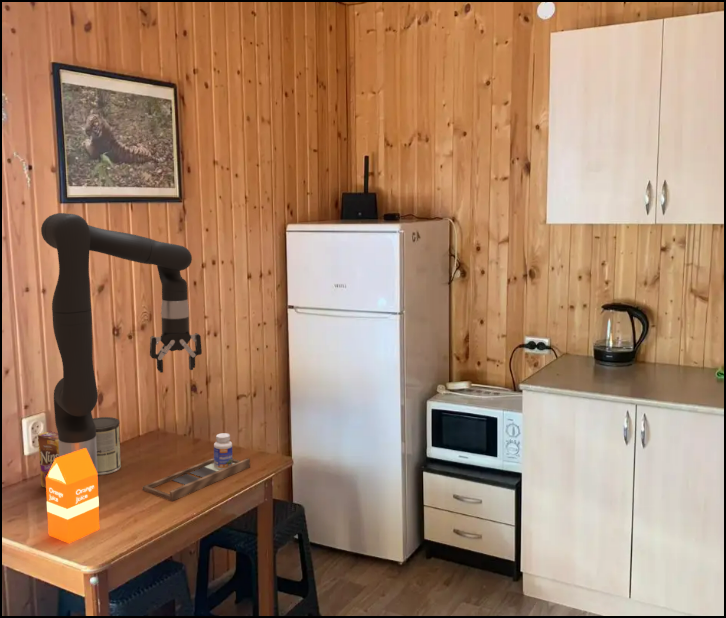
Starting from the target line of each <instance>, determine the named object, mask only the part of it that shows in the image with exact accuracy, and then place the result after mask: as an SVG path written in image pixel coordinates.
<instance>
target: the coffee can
mask: <svg viewBox="0 0 726 618" xmlns="http://www.w3.org/2000/svg"><path fill="white" fill-rule="evenodd" d="M92 418H93V417H92ZM93 421H94V424H95V426H96V444H97V469H98V476H99V475H102V476H103V475H109V474H112V473H115V472H117V471H119V470H120V469H121V467H122V465H121V464H122V463H121V448H120V447H121V445H120V444H121V443H120V442H121V441H120V439H121V438H120V419H118V418H116V417H109V416H102V417H94V418H93Z"/></svg>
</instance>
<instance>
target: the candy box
mask: <svg viewBox="0 0 726 618" xmlns="http://www.w3.org/2000/svg"><path fill="white" fill-rule="evenodd" d="M37 442H38V456H39V469H40V485H41V487H42V488H45V489H46V477H47V475H48V472H49V470H50V468H51V466H52V464H53V462H54V460H55V458H58V457H59V440H58V432H55V431H51V430H47V431H44V432H42V433H39V434H38V435H37Z"/></svg>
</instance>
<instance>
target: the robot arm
mask: <svg viewBox="0 0 726 618" xmlns="http://www.w3.org/2000/svg"><path fill="white" fill-rule="evenodd" d="M40 232H41V233H40V234H41V236H42V239H43V240H44V242H46V244H48V246H50V247H52V248H53V249H56V252H57V259H58V277H57V281H56V285H55V288H54V293H53V296H52V301H51V302H52V303H51V313H52V314H51V315H52V327H53V332H54V333H53V334H54V338H55V341H56V344H57V349H58V351H59V355H60V358H61V363H62V364H61V365H62V371H63V373H62V375H63V377H62V378H61V379H59V381H57V383H56V385H55V387H54V390H53V409H54V411H53V412H54V421H55V427H56V428H55V429H56V431H57V433H58V440H59V457H60V456H63V455H66V454H69V453H72V452H75V451H78V450H81V449H84V448H86V449H87V451H88V454H89V456H90V458H91V460H92V462H93V465H94V467H95V469H96V471H97V473H98V469H97V444H96V426H95V424H94V421H93V414H92V411H93V410H94V409H95V407H96V406H97V403H98V397H99V395H98V394H99V393H98V387H97V382H96V376H95V371H94V370H95V368H94V362H93V361H94V360H93V319H92V316H93V315H92V302H91V287H90V285H91V284H90V271H89V270H90V251H92V252H96V253H101V254H104V255H108V256H111V257H115V258H120V259H123V260H126V261H130V262H135V263H140V264H145V265H153V266H156V267H157V271H158V276H159V280H160V284H161V305H160V306H161V307H160V308H161V309H160V314H161V315H160V316H161V335H160V336H154V335H151V336H150V338H149V339H150V340H149V356H150V358H151V359H155V360H156V369H157V371H158V372H159V373H161V374H162V373H164V361H163V358H164V357H165V356H166V354H167V353H168V352H169V351H170V352H174V351H179V352H180V351H183V350H185V351H186V352H187V354H188V355H189V356H188V368H189V370H190V371H194V368H196V357H197V356H200V355H202V354H203V353H202V352H203V350H202V349H203V348H202V337H201V335H200V334H199V333H198V332H197V333H196V332H195V333H194V334H193V333H192V334H190V309H189V301H188V299H189V298H188V283H187V281H186V279H184V278H183V277H182V275H181V271H185V270H186V269H188V268H189V267H190V265H191V264H192V261H193V256H192V253H191V251H190V250H189V249H188V248H187V247H185V246H183V245H179V244H174V243H169V242H163V241H158V240H155V239H152V238H149V237H147V236H146V237H145V236H141V235H137V234H133V233H129V232H128V233H127V232H121V231H115V230H109V229H104V228H101V227H96V226H93V225H90V224H88V223H87V221H86V219H84V218H83V217H82V216H80V215H78V214H75V213H67V212H66V213H65V212H58V213H54V214H53V213H52V215H49V216H48V217H46V218H45V219H44V220H43V222H42V224H41V228H40ZM191 340H192V341H193V342H194V345H195V346H194V347H195V350H192V349H191V347H190V346H189V345H188V344H189V342H190V341H191ZM160 342H161V343H162V344H163V345H162V346H161V348H160V350H159V351H158V353H156V352H157V345H159V343H160ZM97 477H99V475H98V474H97ZM98 492H99V489H98Z"/></svg>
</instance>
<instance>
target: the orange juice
mask: <svg viewBox="0 0 726 618" xmlns="http://www.w3.org/2000/svg"><path fill="white" fill-rule="evenodd" d="M97 474H98V473H97V471H96V469H95V467H94V465H93V462H92V460H91V458H90V456H89V454H88V451H87V449H86V448H84V449H81V450H78V451H75V452H72V453H69V454H66V455H63V456H60V457H58V458H55V460H54V462H53V464H52V466H51V468H50V470H49V472H48V475H47V477H46V488H45V490H46V491H45V494H46V512H47V513H46V514H47V529H48V535H49V536H50V537H51V538H55V539H57V540H60V541H62V542H65V543H67V544H71V543H73V542H75V541H77V540H79V539H82V538H84V537H86V536H88V535H90V534H92V533H95V532H97V531H99V530H100V510H99V509H100V508H99V507H100V502H99V491H98V490H99V478H98V477H99V476H98V477H97Z"/></svg>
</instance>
